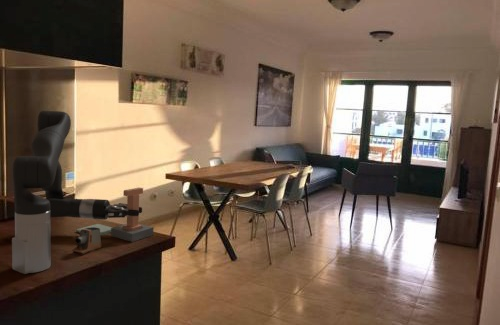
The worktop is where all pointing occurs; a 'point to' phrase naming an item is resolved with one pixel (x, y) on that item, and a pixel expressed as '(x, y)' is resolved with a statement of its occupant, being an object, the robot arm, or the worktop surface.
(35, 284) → the worktop surface
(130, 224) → the t key
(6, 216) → the worktop surface
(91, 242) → the electronic device
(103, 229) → the mat
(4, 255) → the worktop surface
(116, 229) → the socket block
